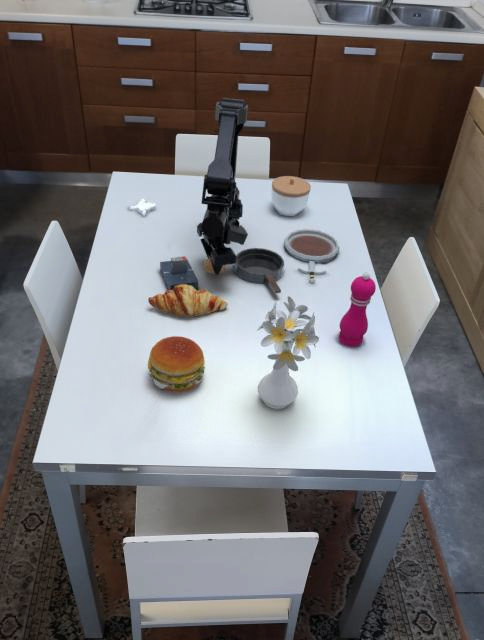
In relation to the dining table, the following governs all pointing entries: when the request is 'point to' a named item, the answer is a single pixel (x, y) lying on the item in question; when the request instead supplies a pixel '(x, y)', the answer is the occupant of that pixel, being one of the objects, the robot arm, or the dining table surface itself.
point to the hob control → (178, 276)
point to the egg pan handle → (272, 283)
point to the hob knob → (179, 264)
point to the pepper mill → (357, 311)
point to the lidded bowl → (290, 194)
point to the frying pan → (311, 248)
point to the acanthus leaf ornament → (143, 207)
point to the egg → (209, 267)
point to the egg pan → (258, 265)
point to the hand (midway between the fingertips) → (214, 270)
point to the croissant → (187, 301)
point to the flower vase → (285, 352)
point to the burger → (176, 363)
